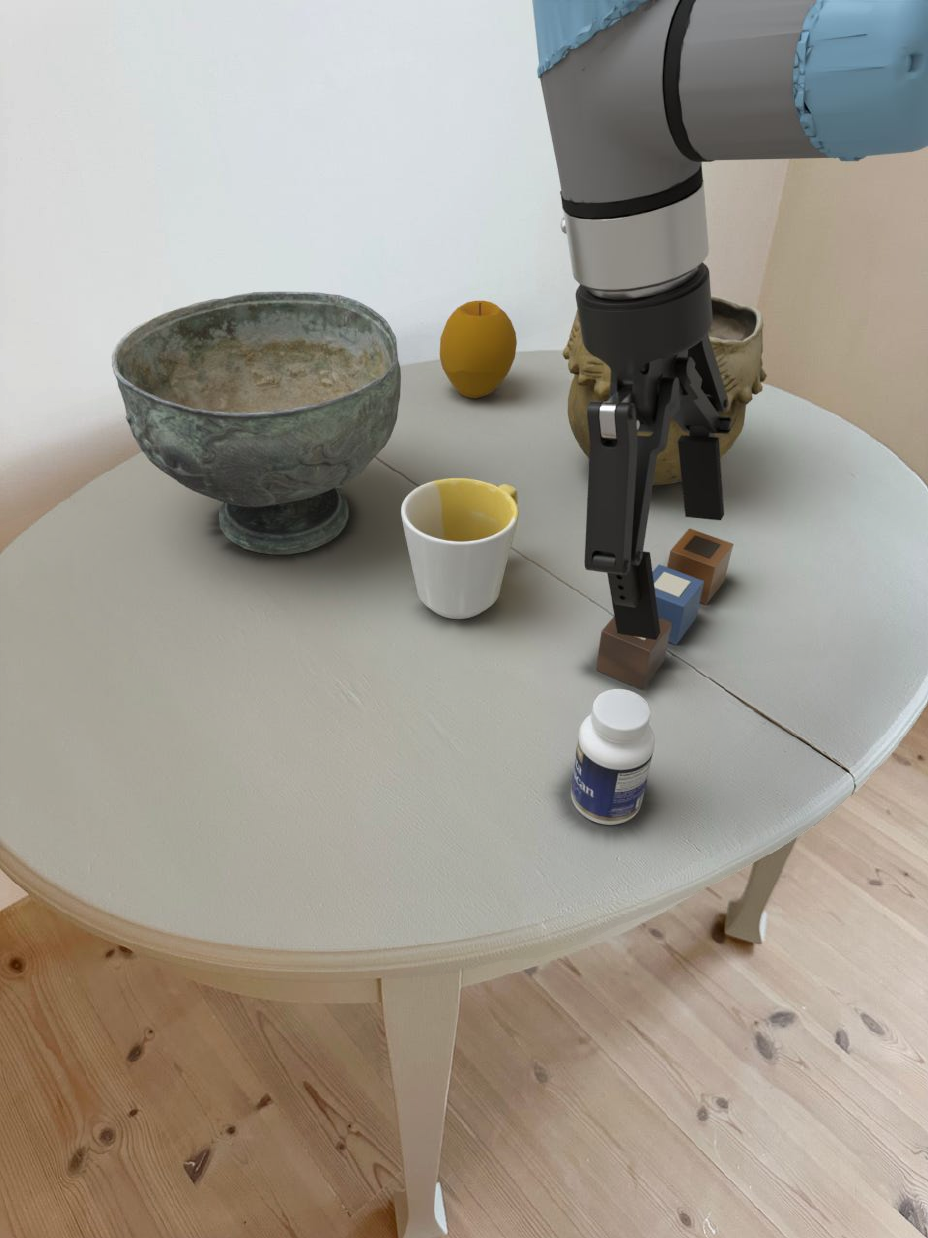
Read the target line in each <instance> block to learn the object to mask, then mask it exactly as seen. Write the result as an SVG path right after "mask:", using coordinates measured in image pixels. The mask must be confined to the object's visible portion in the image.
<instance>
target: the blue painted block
mask: <svg viewBox="0 0 928 1238" xmlns="http://www.w3.org/2000/svg"><path fill="white" fill-rule="evenodd" d="M652 572H653V580H654V587H655V595H656V603H657V610H658V617H659V618H662V619H664V620H667V621H669V622H672V626H671V631H670V636H669V641H668V643H670V644H672V645H673V646H677V645H678V643H679V642H680V640H681V639H682V638H683V637H684V635H685V634H686V633H687V632H688V630H689V629H690V627H691V626H692V625H693V623H694V622H695V621H696V619H697V615H698V612H699V606H700V598H701V594H702V589H703V585H704V581H702V580H700V579H697V578H694V577H692V576H689V575H686V574H684V573H681V572H678V571H676V570H673V569H670V568H668V567H667V566H665V565H662V564H660V563H659V564H658V565H656V567H655V568H654V569H653V570H652Z"/></svg>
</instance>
